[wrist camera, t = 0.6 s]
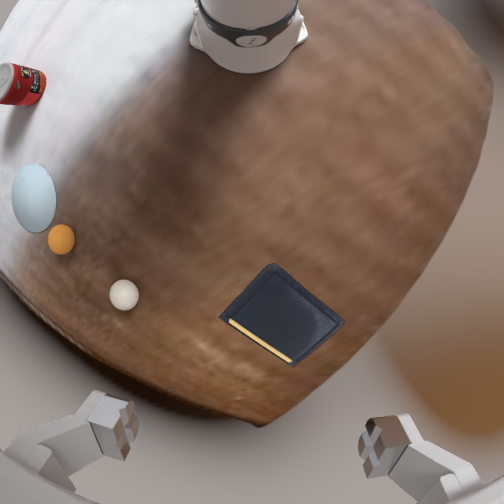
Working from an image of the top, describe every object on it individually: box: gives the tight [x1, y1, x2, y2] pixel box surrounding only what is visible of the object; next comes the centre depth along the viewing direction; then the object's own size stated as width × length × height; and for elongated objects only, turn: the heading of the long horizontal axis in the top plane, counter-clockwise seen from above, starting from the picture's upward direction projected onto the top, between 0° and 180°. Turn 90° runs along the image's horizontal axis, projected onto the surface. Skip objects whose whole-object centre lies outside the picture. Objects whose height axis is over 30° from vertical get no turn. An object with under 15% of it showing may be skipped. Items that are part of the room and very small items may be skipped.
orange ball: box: [48, 224, 75, 255], centre depth 44 cm, size 6×6×6 cm
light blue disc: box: [12, 164, 56, 233], centre depth 44 cm, size 14×14×1 cm
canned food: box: [0, 63, 46, 106], centre depth 32 cm, size 8×8×11 cm
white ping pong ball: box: [109, 280, 139, 310], centre depth 48 cm, size 6×6×6 cm
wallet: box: [219, 263, 345, 367], centre depth 52 cm, size 20×2×15 cm
